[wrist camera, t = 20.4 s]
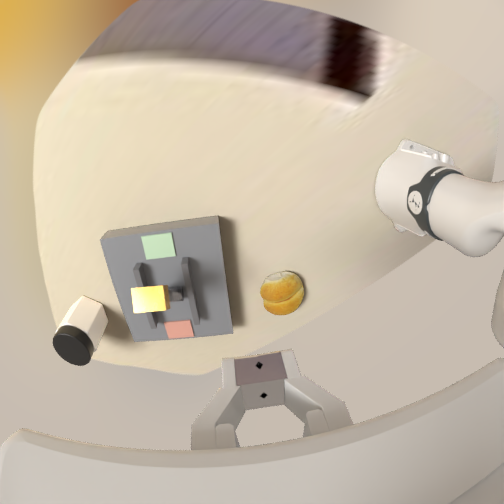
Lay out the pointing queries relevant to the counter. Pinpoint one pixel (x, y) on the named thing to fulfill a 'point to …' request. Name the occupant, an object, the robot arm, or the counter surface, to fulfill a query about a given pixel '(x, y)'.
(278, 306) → the bread roll
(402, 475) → the robot arm
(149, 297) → the breaker lever
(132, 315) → the switch panel
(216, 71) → the counter surface
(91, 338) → the jar
